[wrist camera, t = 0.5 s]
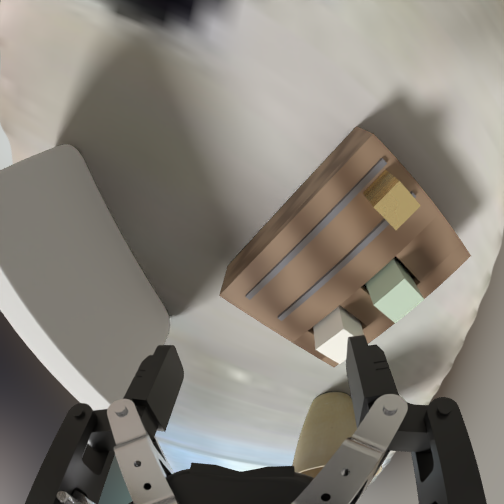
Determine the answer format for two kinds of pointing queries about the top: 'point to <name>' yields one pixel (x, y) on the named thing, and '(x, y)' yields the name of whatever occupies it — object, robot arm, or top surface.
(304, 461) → the plant pot
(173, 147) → the top surface
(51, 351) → the rounded white slab
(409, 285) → the sage green button
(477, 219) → the top surface
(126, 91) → the top surface
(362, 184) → the switch panel
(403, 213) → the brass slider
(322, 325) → the off-white button
